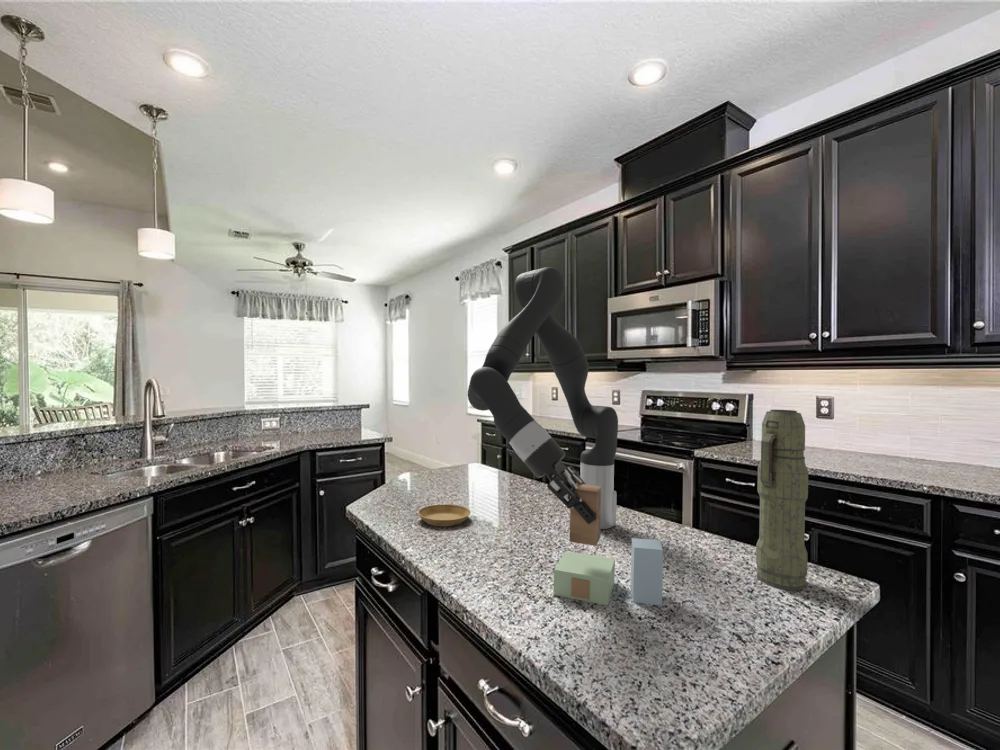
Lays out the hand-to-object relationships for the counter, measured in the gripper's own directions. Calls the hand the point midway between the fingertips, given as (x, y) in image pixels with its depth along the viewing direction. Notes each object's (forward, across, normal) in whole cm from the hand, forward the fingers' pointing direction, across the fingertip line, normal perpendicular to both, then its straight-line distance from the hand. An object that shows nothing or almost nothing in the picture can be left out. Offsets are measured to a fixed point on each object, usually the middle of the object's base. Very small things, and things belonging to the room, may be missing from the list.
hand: (595, 516), depth 86 cm
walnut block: (+2, 0, +5) cm, 5 cm away
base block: (+9, +1, +12) cm, 15 cm away
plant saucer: (-22, +27, +43) cm, 55 cm away
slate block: (+17, +2, +3) cm, 17 cm away
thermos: (+35, +20, -15) cm, 43 cm away
